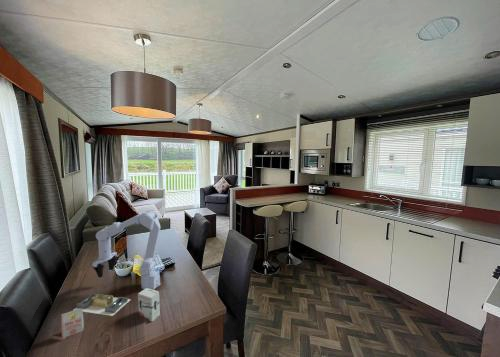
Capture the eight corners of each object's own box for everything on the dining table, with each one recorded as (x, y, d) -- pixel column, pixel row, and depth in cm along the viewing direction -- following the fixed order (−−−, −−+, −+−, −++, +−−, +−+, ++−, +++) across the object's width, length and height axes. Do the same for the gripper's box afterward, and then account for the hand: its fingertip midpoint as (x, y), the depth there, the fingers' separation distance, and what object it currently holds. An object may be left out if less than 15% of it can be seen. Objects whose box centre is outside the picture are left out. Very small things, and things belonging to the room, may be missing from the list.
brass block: (112, 303, 108) (112, 295, 108) (107, 307, 105) (106, 299, 104) (97, 301, 110) (97, 293, 109) (91, 305, 106) (90, 297, 106)
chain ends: (127, 301, 110) (127, 297, 110) (114, 313, 101) (114, 309, 101) (92, 296, 113) (92, 293, 113) (76, 307, 105) (76, 303, 104)
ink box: (138, 317, 100) (137, 293, 99) (146, 310, 105) (146, 287, 104) (152, 322, 97) (151, 297, 96) (160, 315, 102) (159, 291, 101)
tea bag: (63, 334, 90) (61, 311, 89) (83, 327, 94) (82, 305, 93) (61, 340, 87) (60, 317, 86) (83, 333, 91) (81, 310, 90)
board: (131, 301, 111) (130, 299, 111) (112, 317, 100) (112, 315, 99) (94, 296, 115) (94, 294, 115) (72, 311, 103) (72, 309, 103)
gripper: (109, 244, 128) (110, 266, 129) (87, 254, 113) (88, 279, 114) (119, 245, 126) (120, 267, 128) (98, 255, 112) (99, 280, 113)
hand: (106, 273), depth 121 cm, fingers open, 7 cm apart
